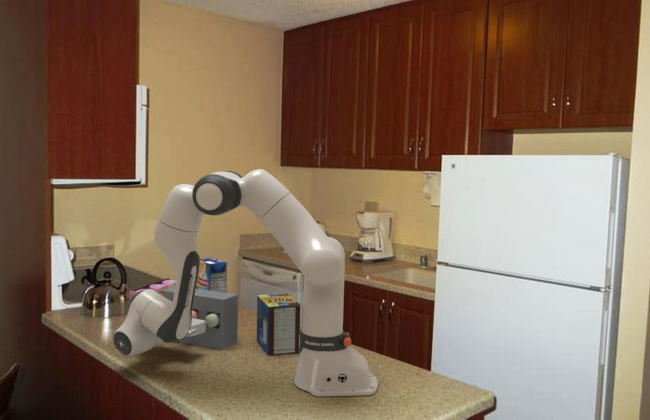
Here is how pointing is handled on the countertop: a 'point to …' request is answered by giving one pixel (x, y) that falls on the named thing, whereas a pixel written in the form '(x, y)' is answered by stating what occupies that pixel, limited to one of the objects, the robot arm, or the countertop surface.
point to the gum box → (155, 286)
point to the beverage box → (212, 275)
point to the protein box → (278, 324)
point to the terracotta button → (195, 314)
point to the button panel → (207, 305)
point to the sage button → (213, 319)
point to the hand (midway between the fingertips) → (189, 317)
